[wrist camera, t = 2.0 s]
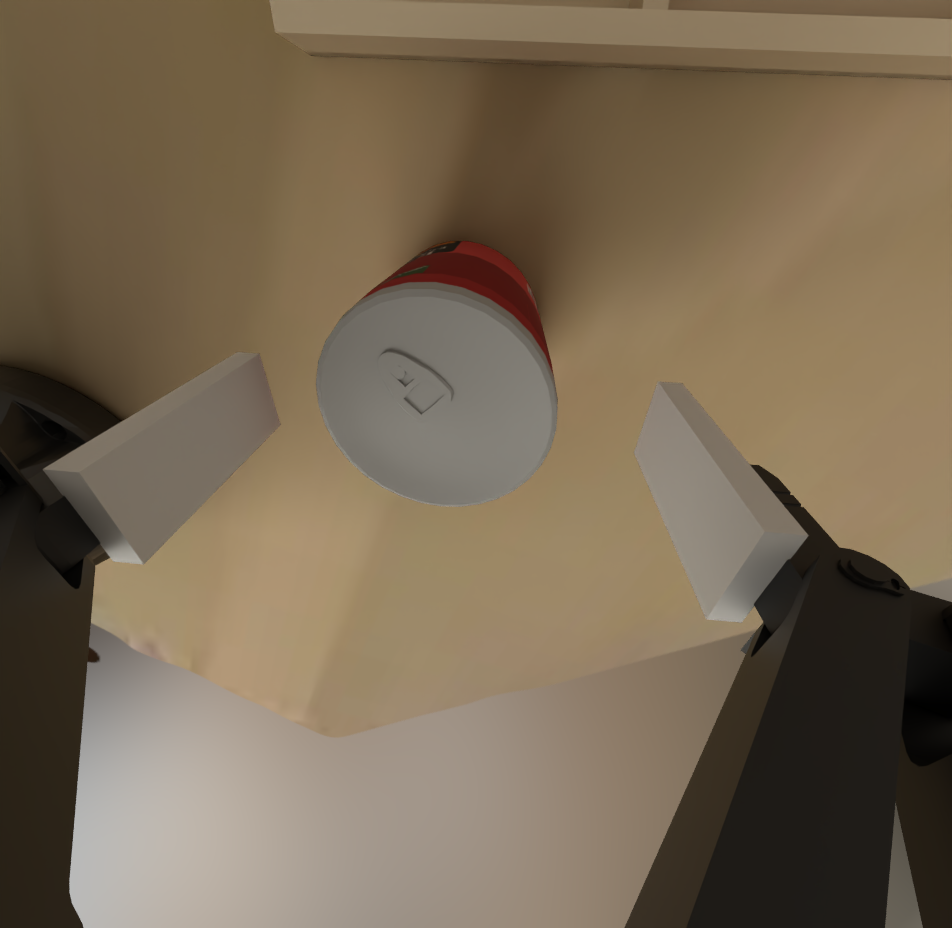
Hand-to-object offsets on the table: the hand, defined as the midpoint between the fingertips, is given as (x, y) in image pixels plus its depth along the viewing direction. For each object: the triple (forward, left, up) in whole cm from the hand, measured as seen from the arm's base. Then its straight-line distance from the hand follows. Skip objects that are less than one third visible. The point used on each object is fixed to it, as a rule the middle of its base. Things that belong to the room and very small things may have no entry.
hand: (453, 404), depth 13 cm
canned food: (0, 0, -10) cm, 10 cm away
